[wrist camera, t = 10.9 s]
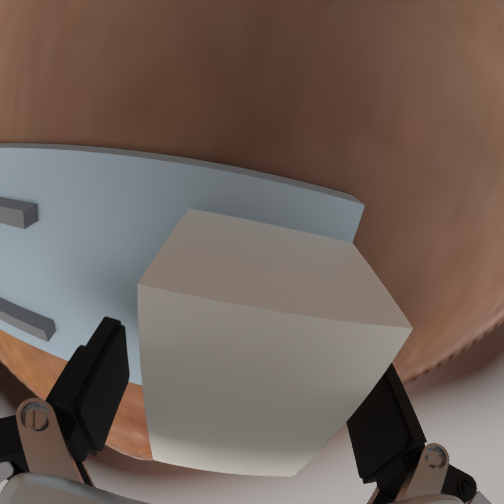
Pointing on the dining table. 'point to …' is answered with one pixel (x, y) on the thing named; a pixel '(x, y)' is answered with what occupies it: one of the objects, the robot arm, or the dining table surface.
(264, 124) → the dining table surface
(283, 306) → the white rectangular block
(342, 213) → the plate
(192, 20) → the dining table surface
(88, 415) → the robot arm
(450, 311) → the dining table surface
